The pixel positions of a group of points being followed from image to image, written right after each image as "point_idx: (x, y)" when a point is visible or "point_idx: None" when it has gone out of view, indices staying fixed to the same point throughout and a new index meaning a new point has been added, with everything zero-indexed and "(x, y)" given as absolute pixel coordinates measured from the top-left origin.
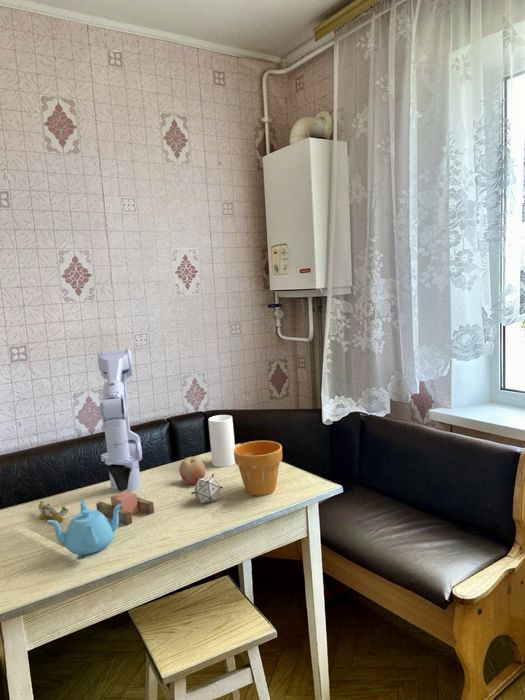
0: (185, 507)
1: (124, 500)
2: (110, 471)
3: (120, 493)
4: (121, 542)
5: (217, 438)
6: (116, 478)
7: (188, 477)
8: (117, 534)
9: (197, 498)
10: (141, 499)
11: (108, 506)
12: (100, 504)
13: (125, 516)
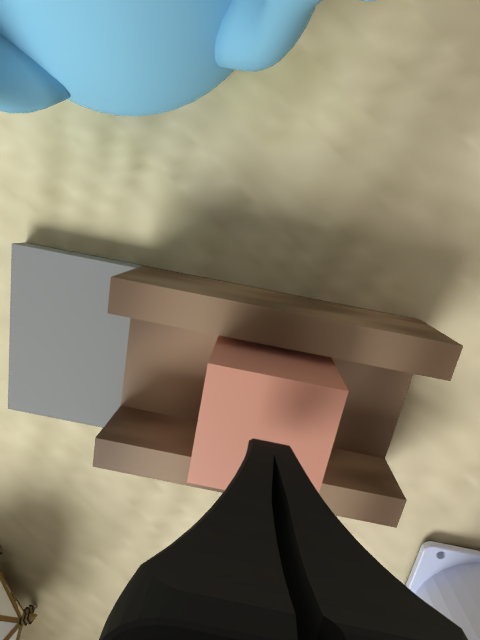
0: (61, 529)
1: (205, 385)
2: (375, 596)
3: (317, 460)
4: (57, 132)
5: None
6: (268, 514)
7: None
8: (150, 197)
9: (4, 588)
10: None
11: (331, 335)
12: (415, 341)
13: (127, 276)
